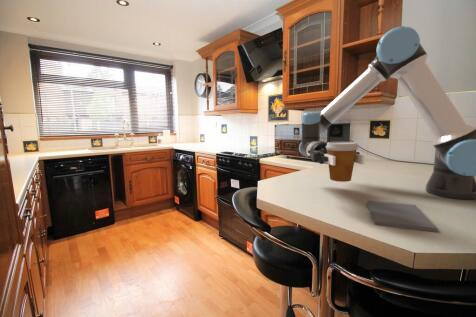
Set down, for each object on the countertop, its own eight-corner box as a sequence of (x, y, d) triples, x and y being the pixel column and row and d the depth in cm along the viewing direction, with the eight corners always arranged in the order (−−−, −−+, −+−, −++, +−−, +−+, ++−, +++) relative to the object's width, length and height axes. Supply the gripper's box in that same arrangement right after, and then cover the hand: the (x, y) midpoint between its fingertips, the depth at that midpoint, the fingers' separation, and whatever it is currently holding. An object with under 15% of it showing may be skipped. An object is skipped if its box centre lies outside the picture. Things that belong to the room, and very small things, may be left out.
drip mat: (415, 207, 77) (415, 205, 77) (436, 231, 61) (437, 228, 60) (366, 203, 82) (366, 200, 82) (374, 224, 66) (374, 220, 66)
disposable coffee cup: (354, 176, 80) (356, 141, 78) (358, 184, 71) (360, 144, 69) (324, 175, 83) (325, 141, 81) (325, 182, 74) (326, 144, 72)
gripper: (344, 159, 95) (381, 171, 72) (292, 161, 94) (314, 174, 71) (345, 141, 93) (383, 146, 71) (293, 143, 93) (314, 149, 70)
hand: (348, 160), depth 71 cm, fingers closed on disposable coffee cup, 8 cm apart
